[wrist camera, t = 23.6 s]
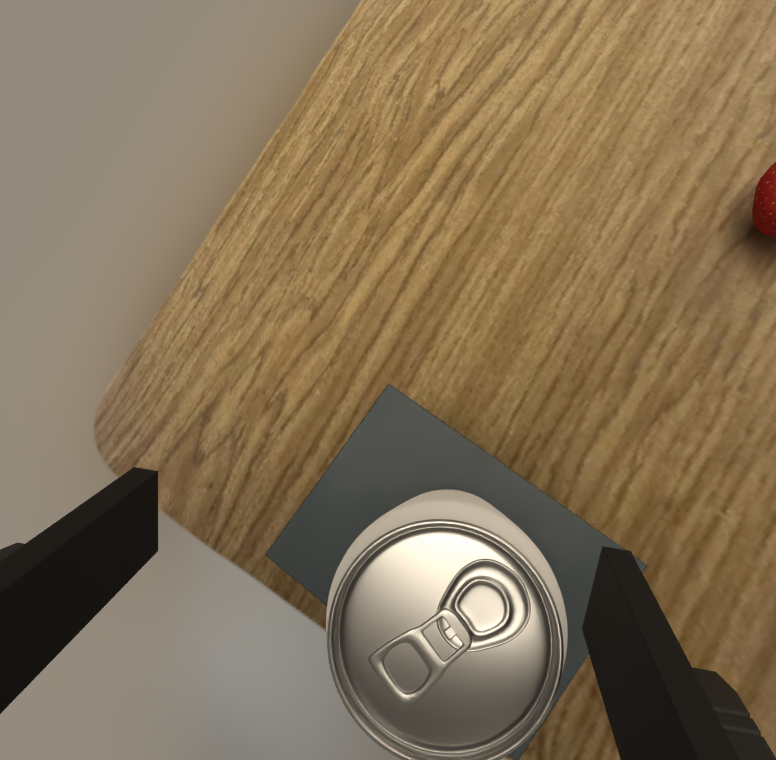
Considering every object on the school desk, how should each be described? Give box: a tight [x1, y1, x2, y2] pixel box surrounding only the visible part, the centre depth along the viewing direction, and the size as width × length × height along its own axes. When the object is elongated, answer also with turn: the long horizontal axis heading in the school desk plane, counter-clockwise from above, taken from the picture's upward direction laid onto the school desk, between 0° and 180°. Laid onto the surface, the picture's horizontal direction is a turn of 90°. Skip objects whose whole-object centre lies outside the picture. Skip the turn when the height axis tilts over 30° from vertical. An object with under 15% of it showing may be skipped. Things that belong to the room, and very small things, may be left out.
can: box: [326, 490, 568, 760], centre depth 19 cm, size 6×6×12 cm
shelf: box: [266, 384, 647, 760], centre depth 30 cm, size 14×10×11 cm
